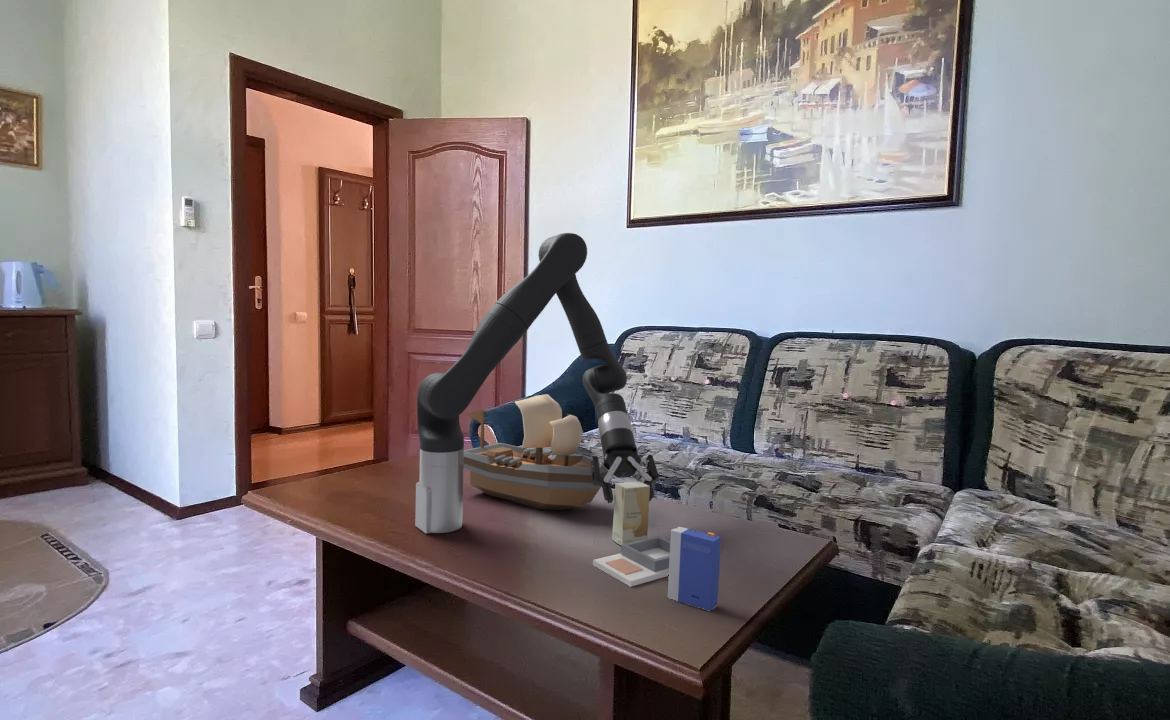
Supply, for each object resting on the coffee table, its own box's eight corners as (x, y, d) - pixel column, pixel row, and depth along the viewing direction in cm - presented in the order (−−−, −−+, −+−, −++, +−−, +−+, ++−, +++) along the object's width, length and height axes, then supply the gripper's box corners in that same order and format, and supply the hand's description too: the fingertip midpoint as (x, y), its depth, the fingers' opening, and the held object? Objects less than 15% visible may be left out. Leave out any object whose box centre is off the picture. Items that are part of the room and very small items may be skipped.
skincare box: (622, 547, 128) (624, 488, 127) (611, 540, 131) (613, 482, 131) (648, 543, 131) (651, 485, 130) (637, 536, 134) (639, 480, 134)
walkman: (717, 606, 103) (721, 534, 102) (710, 612, 101) (714, 539, 100) (674, 592, 107) (677, 523, 107) (666, 598, 105) (670, 528, 104)
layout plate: (630, 586, 109) (631, 569, 109) (592, 565, 118) (593, 549, 118) (695, 567, 118) (696, 552, 118) (656, 549, 127) (657, 534, 127)
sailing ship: (579, 527, 139) (583, 405, 137) (440, 489, 165) (442, 386, 163) (618, 509, 153) (623, 399, 151) (484, 477, 178) (487, 382, 177)
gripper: (589, 426, 137) (601, 493, 127) (650, 426, 141) (667, 490, 130) (582, 445, 143) (594, 510, 133) (642, 444, 146) (657, 507, 136)
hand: (630, 500), depth 132 cm, fingers open, 8 cm apart
